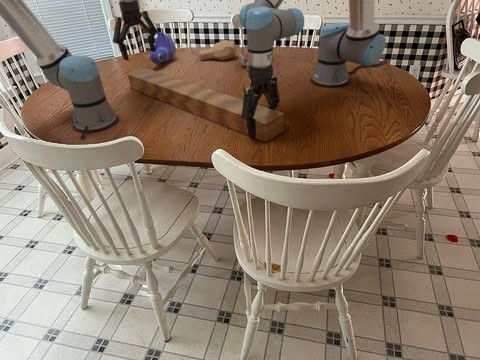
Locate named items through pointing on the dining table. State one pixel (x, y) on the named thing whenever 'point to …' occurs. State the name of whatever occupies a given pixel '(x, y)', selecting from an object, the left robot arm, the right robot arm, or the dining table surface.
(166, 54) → the toy
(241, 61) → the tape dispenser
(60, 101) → the dining table surface
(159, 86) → the slab
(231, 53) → the squash
